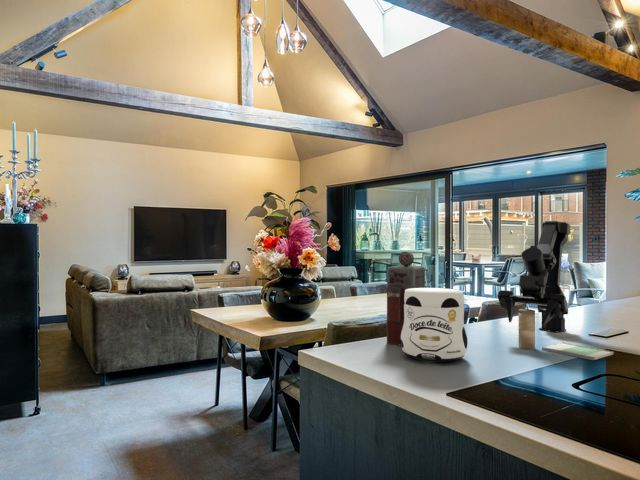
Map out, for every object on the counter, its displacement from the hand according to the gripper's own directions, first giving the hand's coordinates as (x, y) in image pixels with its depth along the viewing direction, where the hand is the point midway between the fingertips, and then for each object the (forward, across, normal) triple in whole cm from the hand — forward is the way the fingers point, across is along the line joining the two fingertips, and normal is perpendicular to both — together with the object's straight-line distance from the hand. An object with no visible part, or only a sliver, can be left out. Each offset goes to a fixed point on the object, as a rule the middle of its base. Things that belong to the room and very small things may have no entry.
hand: (525, 323), depth 134 cm
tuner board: (+2, +13, +8) cm, 15 cm away
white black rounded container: (+25, -16, -14) cm, 33 cm away
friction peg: (+4, 0, +6) cm, 7 cm away
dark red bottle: (+17, -31, -7) cm, 36 cm away
